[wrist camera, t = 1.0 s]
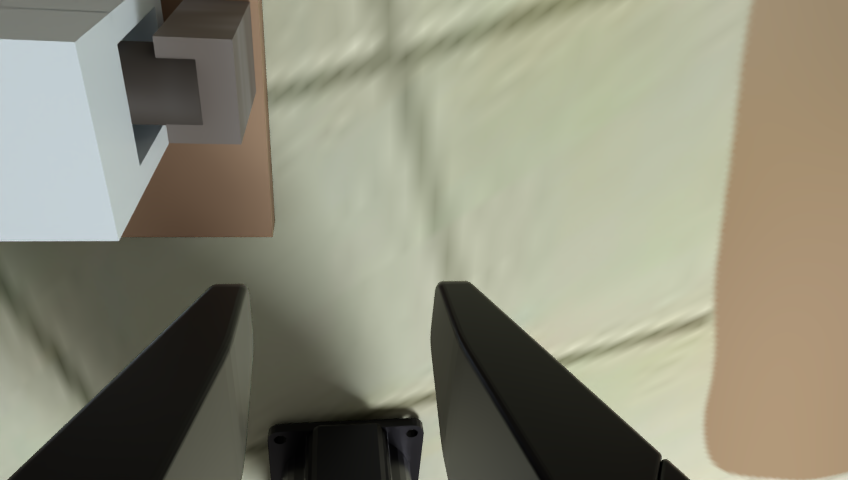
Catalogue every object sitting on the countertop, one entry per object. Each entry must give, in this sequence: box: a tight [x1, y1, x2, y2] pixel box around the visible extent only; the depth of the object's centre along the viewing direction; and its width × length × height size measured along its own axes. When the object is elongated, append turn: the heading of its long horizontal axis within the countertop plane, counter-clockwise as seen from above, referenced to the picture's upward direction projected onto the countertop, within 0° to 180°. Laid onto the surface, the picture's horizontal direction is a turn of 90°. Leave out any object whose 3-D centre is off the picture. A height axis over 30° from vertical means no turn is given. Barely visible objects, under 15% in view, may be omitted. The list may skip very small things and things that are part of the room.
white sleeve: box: [0, 0, 169, 241], centre depth 13 cm, size 4×4×6 cm
